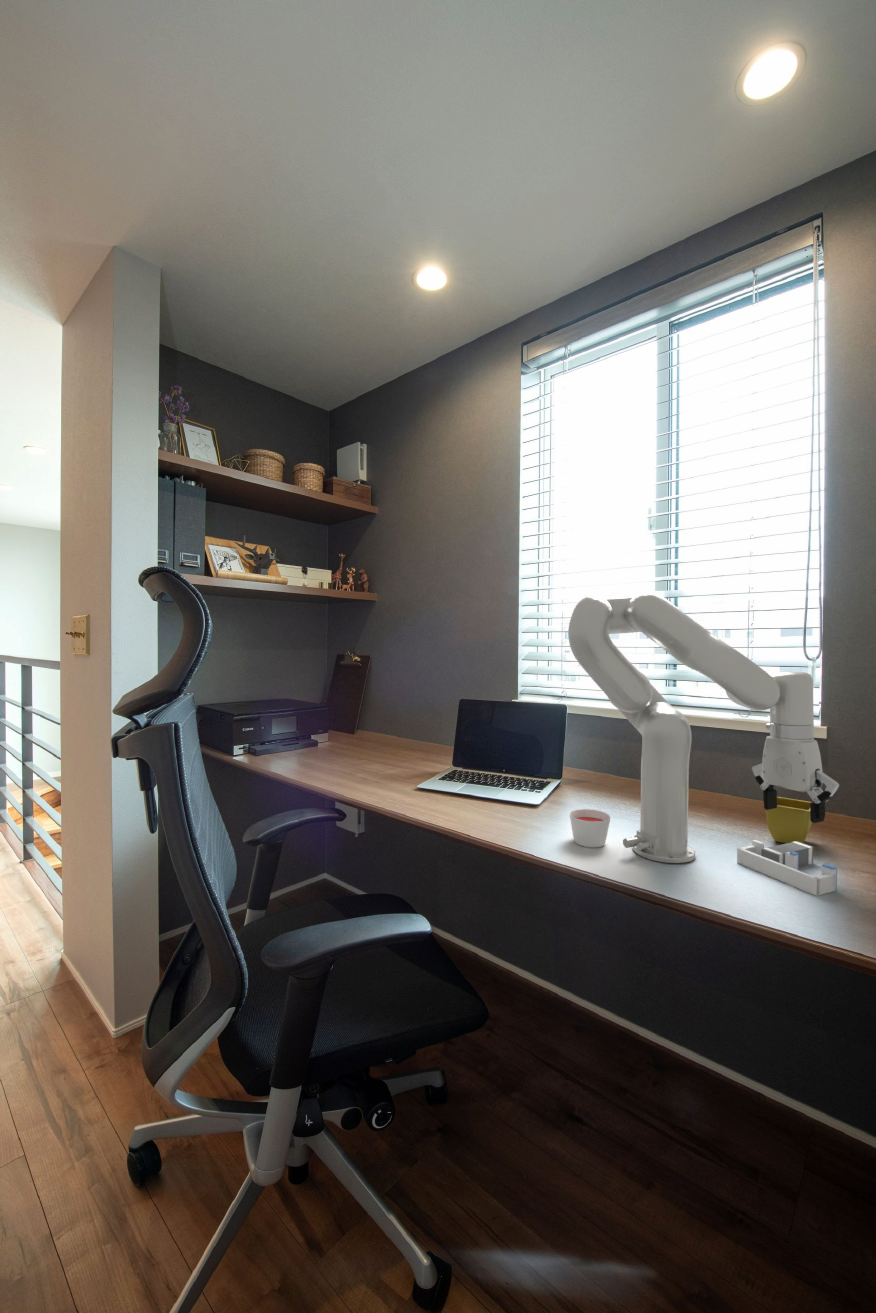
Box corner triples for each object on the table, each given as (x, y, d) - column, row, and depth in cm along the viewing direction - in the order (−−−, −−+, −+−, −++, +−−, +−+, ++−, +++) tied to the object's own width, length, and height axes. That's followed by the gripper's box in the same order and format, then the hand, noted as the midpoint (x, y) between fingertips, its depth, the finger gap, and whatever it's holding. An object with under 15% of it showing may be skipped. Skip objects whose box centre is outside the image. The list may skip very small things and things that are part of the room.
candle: (615, 840, 125) (615, 813, 125) (603, 853, 118) (603, 824, 118) (577, 832, 131) (577, 806, 130) (563, 844, 123) (563, 816, 123)
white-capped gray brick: (777, 871, 109) (777, 854, 109) (760, 865, 112) (761, 848, 112) (813, 863, 113) (813, 846, 113) (796, 857, 116) (796, 840, 116)
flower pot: (770, 831, 132) (770, 794, 131) (813, 840, 126) (814, 801, 126) (763, 842, 125) (764, 803, 125) (809, 851, 119) (810, 811, 119)
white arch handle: (816, 895, 98) (816, 871, 98) (736, 862, 113) (737, 841, 113) (836, 890, 101) (837, 866, 101) (756, 858, 115) (756, 837, 115)
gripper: (740, 728, 118) (742, 806, 119) (823, 740, 102) (825, 830, 103) (764, 725, 121) (765, 801, 121) (848, 736, 105) (850, 824, 106)
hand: (793, 814), depth 112 cm, fingers open, 9 cm apart
